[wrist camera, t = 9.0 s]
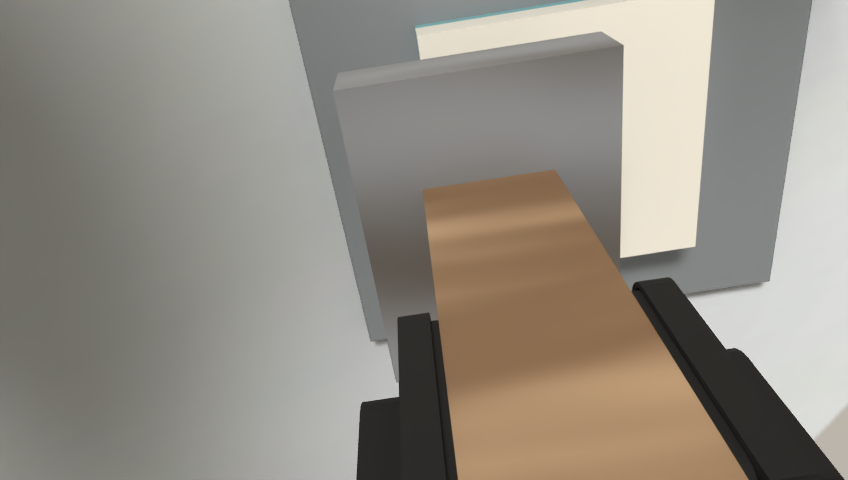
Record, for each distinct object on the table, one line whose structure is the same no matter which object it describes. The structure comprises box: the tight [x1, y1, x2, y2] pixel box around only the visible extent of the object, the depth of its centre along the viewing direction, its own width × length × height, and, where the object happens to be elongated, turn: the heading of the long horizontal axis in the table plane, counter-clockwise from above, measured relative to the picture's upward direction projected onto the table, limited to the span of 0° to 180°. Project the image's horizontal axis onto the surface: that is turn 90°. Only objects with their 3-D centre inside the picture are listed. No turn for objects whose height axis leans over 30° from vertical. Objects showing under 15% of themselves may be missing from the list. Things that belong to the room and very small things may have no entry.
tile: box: [415, 0, 715, 258], centre depth 19 cm, size 8×2×8 cm
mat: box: [289, 0, 812, 341], centre depth 20 cm, size 14×15×1 cm
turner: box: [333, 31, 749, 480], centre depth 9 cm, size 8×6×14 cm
